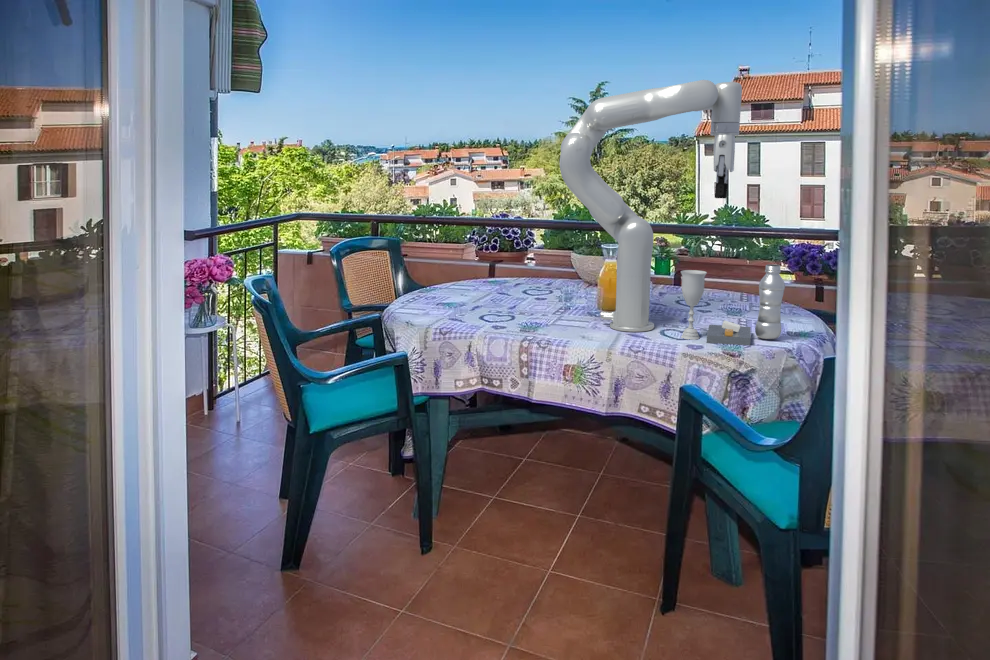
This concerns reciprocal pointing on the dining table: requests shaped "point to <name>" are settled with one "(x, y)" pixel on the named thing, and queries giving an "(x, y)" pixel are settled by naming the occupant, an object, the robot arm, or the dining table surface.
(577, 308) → the dining table surface
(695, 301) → the chalice
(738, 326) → the block
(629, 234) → the robot arm
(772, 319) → the plastic bottle
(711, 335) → the panel
